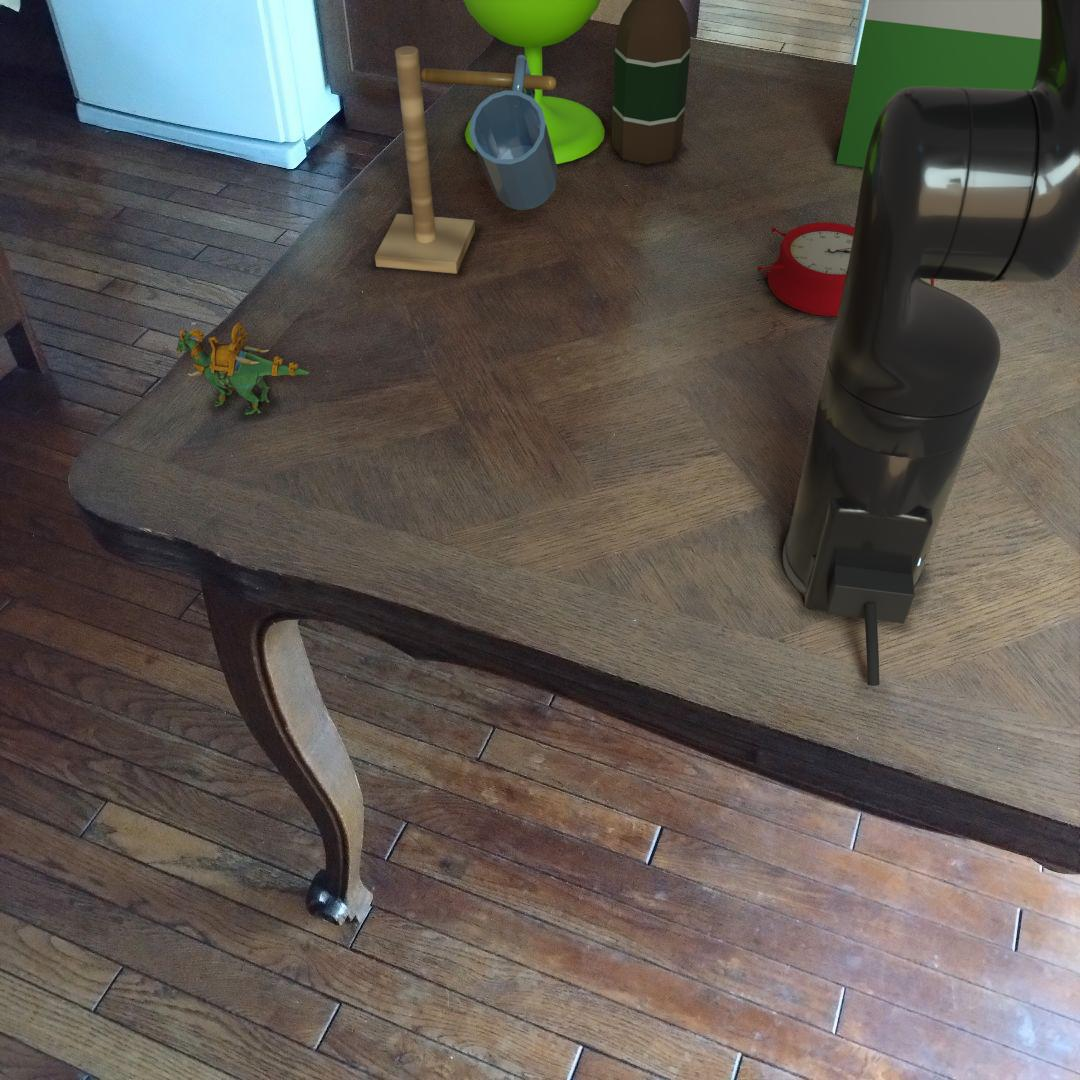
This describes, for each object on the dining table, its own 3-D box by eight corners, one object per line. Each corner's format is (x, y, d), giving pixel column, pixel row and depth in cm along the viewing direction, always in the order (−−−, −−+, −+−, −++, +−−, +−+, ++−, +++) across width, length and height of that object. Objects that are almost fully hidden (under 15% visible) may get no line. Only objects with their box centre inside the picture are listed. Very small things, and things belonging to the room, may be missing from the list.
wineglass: (463, 168, 115) (451, -8, 102) (465, 103, 126) (454, -63, 113) (610, 164, 116) (616, -13, 102) (599, 99, 127) (604, -67, 113)
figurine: (200, 381, 90) (175, 299, 84) (327, 408, 87) (311, 325, 81) (180, 403, 88) (153, 320, 82) (310, 431, 85) (292, 348, 79)
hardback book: (1009, 156, 116) (1089, -90, 98) (1006, 188, 111) (1089, -65, 93) (846, 133, 120) (895, -107, 102) (836, 163, 115) (885, -83, 98)
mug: (553, 212, 96) (539, 166, 86) (486, 207, 97) (465, 161, 87) (567, 103, 97) (555, 45, 87) (501, 99, 97) (481, 40, 87)
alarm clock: (771, 213, 101) (939, 203, 95) (776, 271, 105) (937, 265, 99) (751, 270, 94) (930, 264, 88) (757, 331, 98) (929, 328, 92)
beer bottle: (611, 132, 121) (620, -106, 103) (679, 133, 120) (700, -106, 103) (611, 165, 115) (621, -80, 98) (683, 165, 115) (705, -80, 98)
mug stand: (549, 282, 100) (548, 79, 86) (376, 266, 102) (347, 66, 88) (563, 238, 105) (563, 40, 91) (398, 224, 107) (374, 29, 94)
